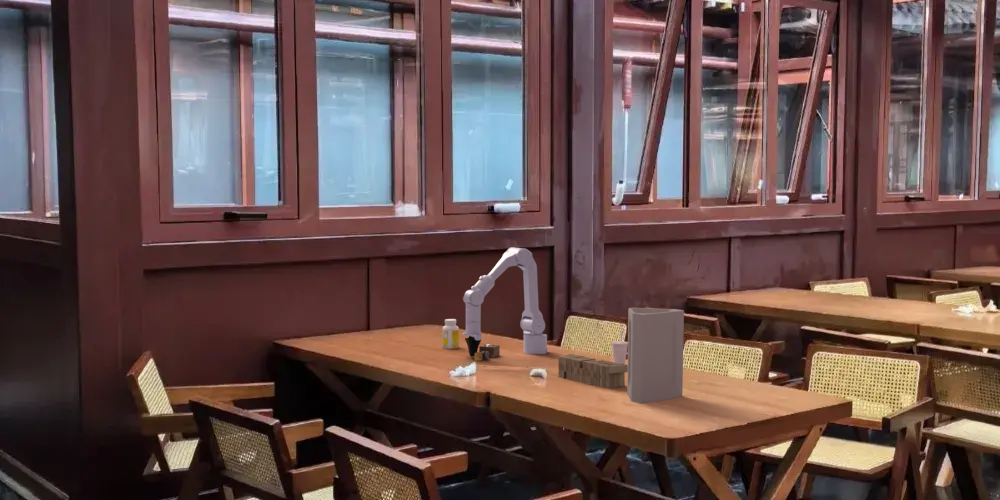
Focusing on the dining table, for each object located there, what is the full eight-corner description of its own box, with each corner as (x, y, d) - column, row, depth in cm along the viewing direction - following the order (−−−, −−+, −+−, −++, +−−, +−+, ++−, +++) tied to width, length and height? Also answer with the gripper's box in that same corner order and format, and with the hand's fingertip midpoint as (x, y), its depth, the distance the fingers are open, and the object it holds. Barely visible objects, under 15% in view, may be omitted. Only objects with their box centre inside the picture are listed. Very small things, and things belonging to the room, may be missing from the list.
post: (492, 359, 414) (492, 344, 414) (492, 360, 412) (492, 345, 411) (486, 359, 414) (486, 344, 414) (486, 360, 412) (486, 345, 411)
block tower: (555, 379, 379) (610, 389, 356) (555, 355, 379) (610, 364, 355) (572, 376, 384) (628, 387, 360) (572, 353, 384) (627, 362, 360)
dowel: (488, 360, 405) (488, 351, 405) (488, 361, 403) (488, 352, 403) (484, 360, 405) (484, 351, 405) (483, 361, 404) (483, 351, 403)
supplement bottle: (459, 349, 437) (459, 318, 436) (457, 352, 430) (457, 320, 429) (443, 349, 437) (443, 318, 436) (441, 352, 431) (441, 320, 430)
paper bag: (650, 389, 356) (652, 306, 355) (683, 396, 344) (685, 310, 343) (608, 395, 345) (609, 309, 343) (641, 403, 333) (642, 314, 331)
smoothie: (627, 370, 392) (627, 332, 391) (609, 369, 394) (610, 331, 393) (628, 367, 399) (629, 330, 398) (611, 366, 400) (612, 329, 399)
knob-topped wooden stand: (485, 354, 417) (485, 344, 416) (499, 355, 414) (499, 345, 414) (469, 360, 402) (469, 349, 402) (484, 361, 400) (484, 350, 400)
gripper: (457, 319, 414) (457, 353, 415) (468, 324, 400) (468, 359, 401) (475, 318, 416) (475, 353, 417) (486, 323, 402) (486, 359, 403)
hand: (472, 356), depth 409 cm, fingers closed
